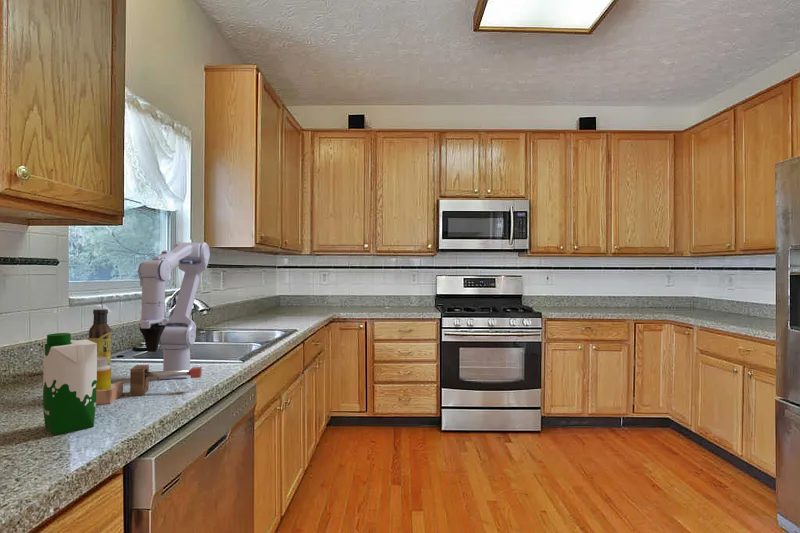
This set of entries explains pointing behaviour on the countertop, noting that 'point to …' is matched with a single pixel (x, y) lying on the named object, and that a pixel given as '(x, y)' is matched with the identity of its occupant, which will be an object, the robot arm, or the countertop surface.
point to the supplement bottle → (103, 374)
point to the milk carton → (69, 383)
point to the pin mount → (139, 380)
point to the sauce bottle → (101, 333)
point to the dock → (109, 394)
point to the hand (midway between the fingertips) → (152, 351)
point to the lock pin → (177, 373)
